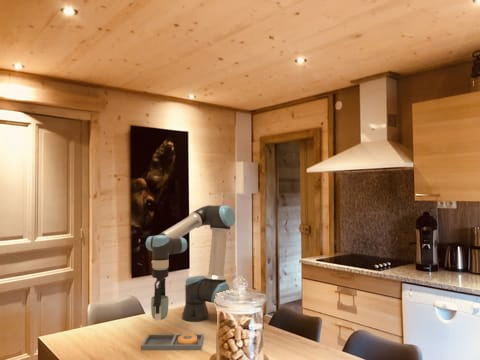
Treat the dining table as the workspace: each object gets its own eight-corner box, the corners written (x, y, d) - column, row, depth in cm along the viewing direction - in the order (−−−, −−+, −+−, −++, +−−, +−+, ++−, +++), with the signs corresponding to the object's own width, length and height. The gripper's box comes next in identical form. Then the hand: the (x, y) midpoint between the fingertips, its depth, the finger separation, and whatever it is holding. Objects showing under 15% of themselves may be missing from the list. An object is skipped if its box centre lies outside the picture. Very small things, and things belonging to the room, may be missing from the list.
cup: (171, 318, 183) (171, 296, 183) (160, 322, 176) (160, 300, 177) (159, 315, 187) (159, 294, 187) (147, 319, 180) (147, 298, 181)
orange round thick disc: (190, 339, 187) (190, 332, 188) (200, 344, 181) (200, 337, 181) (174, 343, 182) (174, 336, 182) (184, 349, 175) (184, 342, 175)
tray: (203, 339, 188) (203, 334, 188) (200, 351, 174) (200, 345, 174) (148, 339, 188) (148, 334, 188) (140, 351, 174) (140, 345, 174)
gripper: (157, 264, 193) (156, 310, 192) (147, 272, 172) (146, 324, 171) (172, 264, 193) (171, 310, 192) (164, 272, 172) (163, 324, 171)
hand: (159, 317), depth 182 cm, fingers closed on cup, 8 cm apart
